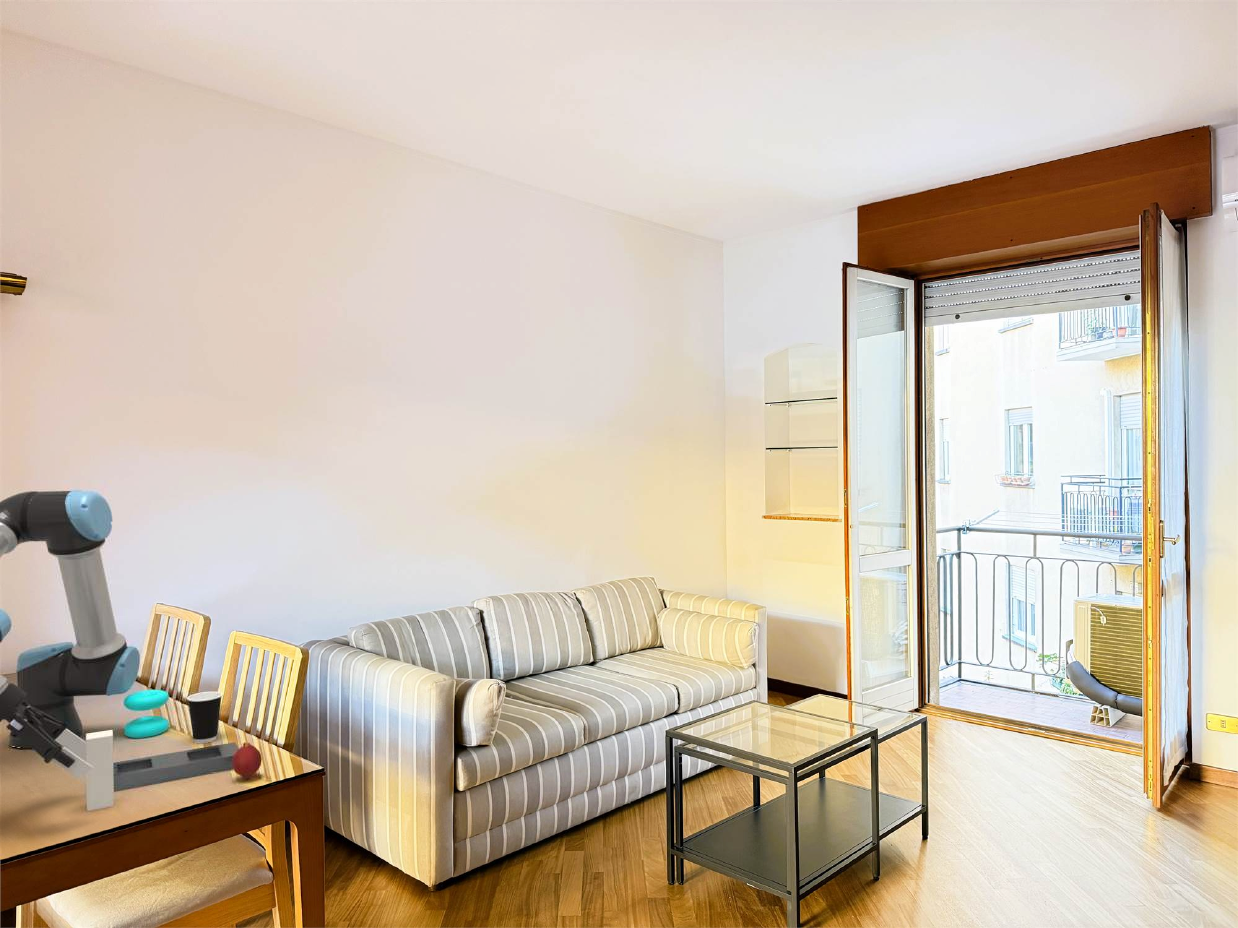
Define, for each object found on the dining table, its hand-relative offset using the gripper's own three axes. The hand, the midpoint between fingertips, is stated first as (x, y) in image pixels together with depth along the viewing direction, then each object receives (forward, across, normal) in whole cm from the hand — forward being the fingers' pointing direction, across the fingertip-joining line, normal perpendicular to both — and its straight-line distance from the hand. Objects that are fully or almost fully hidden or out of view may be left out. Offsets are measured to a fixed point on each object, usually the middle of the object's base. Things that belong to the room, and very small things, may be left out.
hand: (87, 762), depth 166 cm
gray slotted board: (+17, -13, +4) cm, 21 cm away
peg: (+8, -1, -5) cm, 9 cm away
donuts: (+15, -49, +2) cm, 51 cm away
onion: (+27, 0, +14) cm, 30 cm away
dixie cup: (+23, -34, +11) cm, 42 cm away
